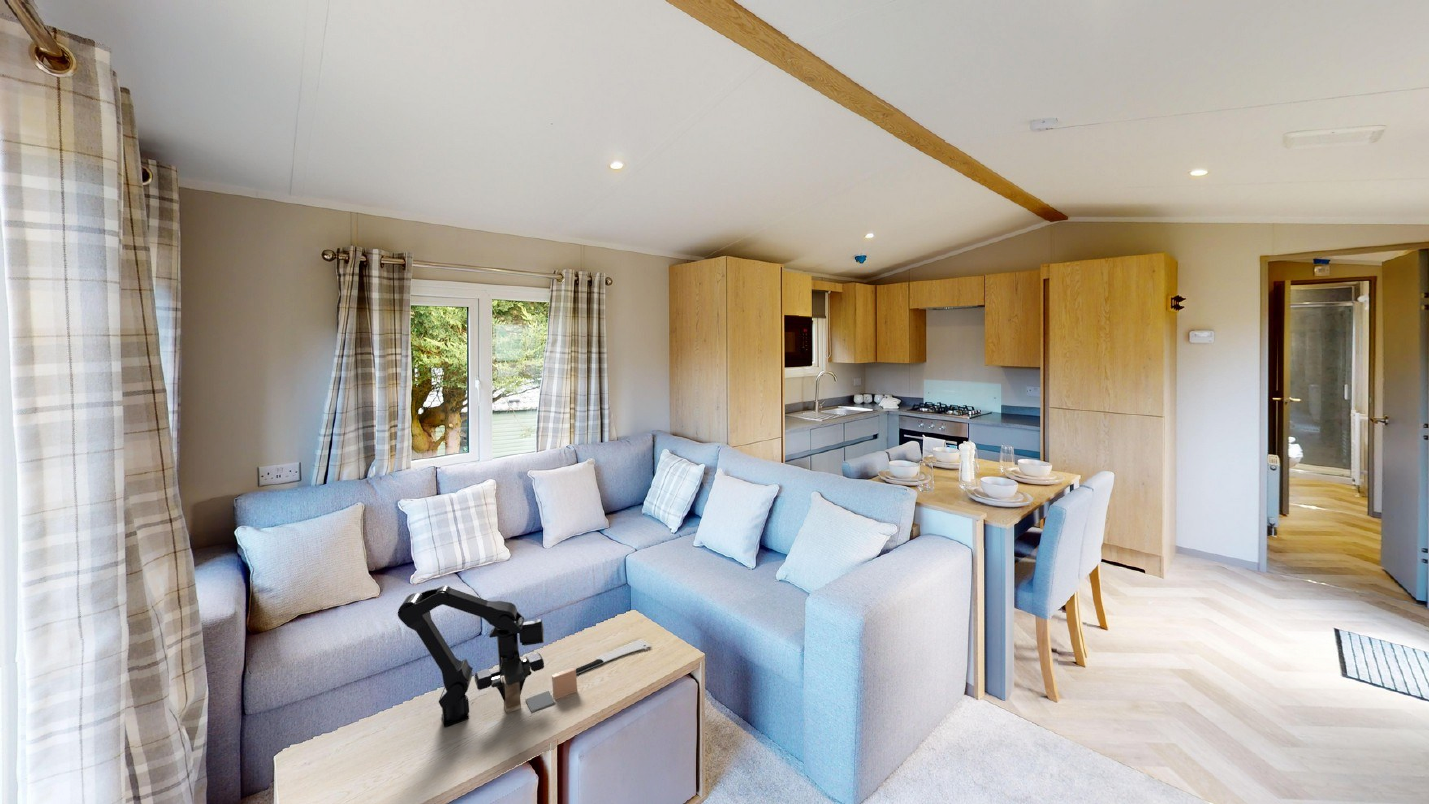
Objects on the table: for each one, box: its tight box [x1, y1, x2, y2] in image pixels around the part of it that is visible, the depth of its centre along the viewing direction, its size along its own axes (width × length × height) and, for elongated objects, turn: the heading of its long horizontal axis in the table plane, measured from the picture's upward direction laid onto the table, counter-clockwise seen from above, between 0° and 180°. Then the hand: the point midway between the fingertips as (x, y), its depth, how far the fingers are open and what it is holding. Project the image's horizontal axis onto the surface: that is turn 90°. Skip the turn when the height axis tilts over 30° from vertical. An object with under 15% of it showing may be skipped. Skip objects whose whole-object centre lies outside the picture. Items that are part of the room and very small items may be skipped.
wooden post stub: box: [501, 676, 522, 714], centre depth 161 cm, size 4×4×9 cm
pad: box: [525, 690, 556, 713], centre depth 163 cm, size 7×7×1 cm
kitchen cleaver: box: [575, 638, 651, 676], centre depth 186 cm, size 31×2×10 cm
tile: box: [551, 667, 578, 700], centre depth 167 cm, size 7×2×7 cm, turn 123°
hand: (511, 697), depth 161 cm, fingers closed on wooden post stub, 4 cm apart
